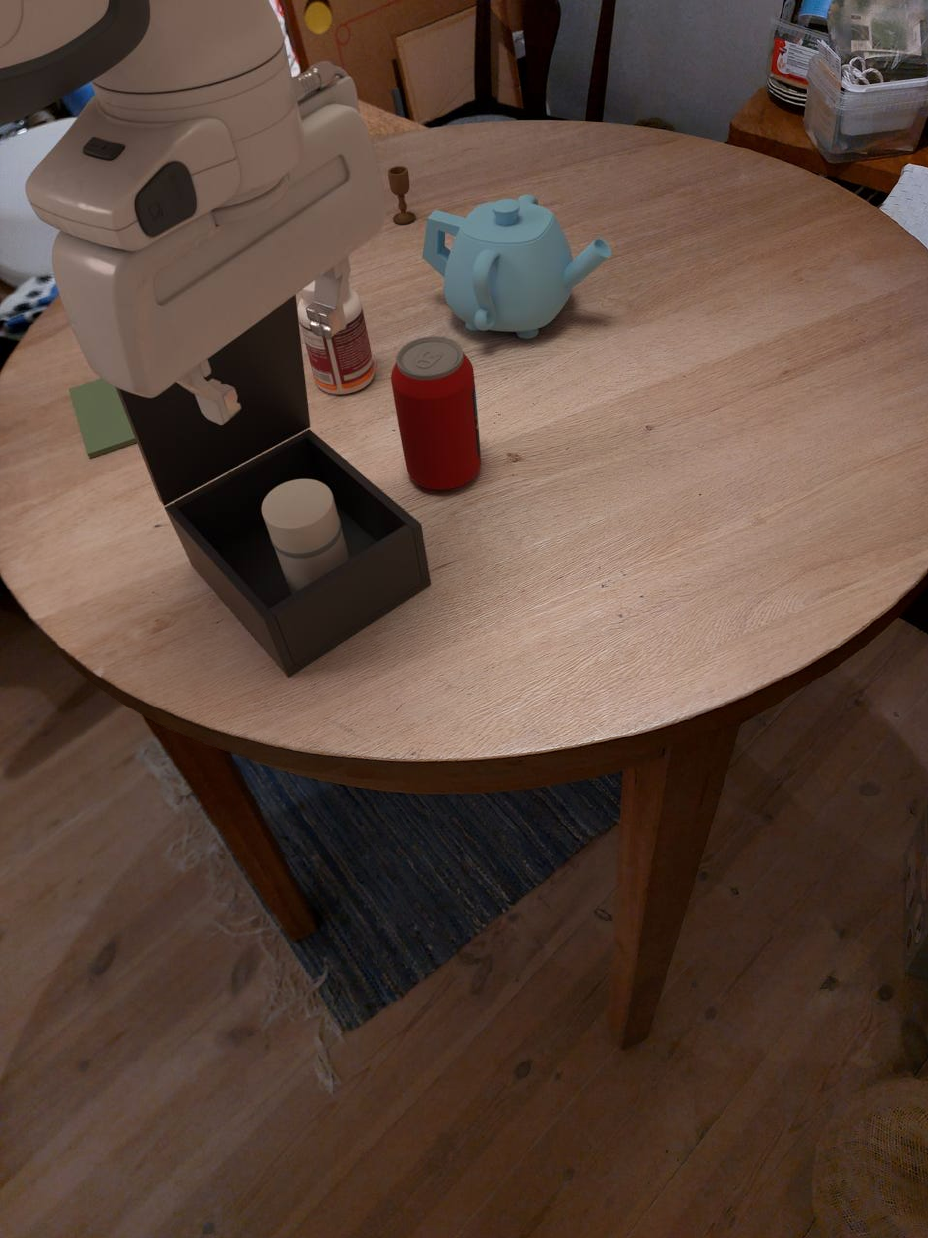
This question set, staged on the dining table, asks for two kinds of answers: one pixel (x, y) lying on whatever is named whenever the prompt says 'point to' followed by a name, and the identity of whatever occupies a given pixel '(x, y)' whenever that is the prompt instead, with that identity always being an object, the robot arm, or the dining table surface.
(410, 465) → the beverage can
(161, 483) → the dark hinged box lid
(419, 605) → the dining table surface
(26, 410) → the dining table surface
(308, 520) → the container
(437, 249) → the teapot
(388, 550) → the black keepsake box
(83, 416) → the mat
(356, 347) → the pill bottle
